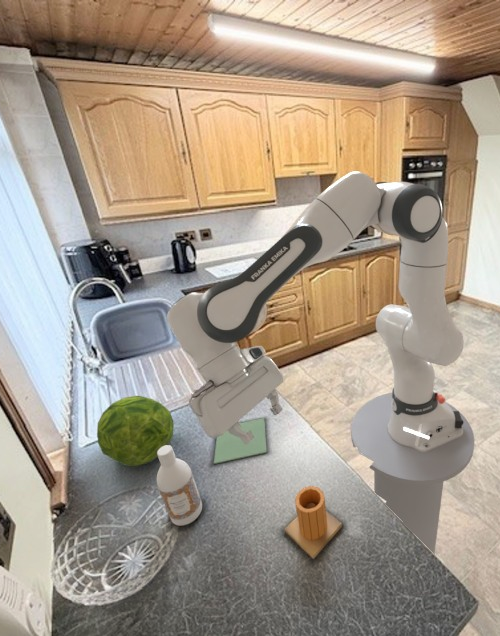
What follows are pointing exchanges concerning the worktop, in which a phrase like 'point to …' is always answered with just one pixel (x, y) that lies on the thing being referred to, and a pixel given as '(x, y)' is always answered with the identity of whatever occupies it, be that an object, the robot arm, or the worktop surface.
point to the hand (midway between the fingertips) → (265, 426)
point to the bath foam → (177, 488)
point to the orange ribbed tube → (311, 512)
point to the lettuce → (134, 430)
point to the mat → (241, 443)
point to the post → (318, 544)
